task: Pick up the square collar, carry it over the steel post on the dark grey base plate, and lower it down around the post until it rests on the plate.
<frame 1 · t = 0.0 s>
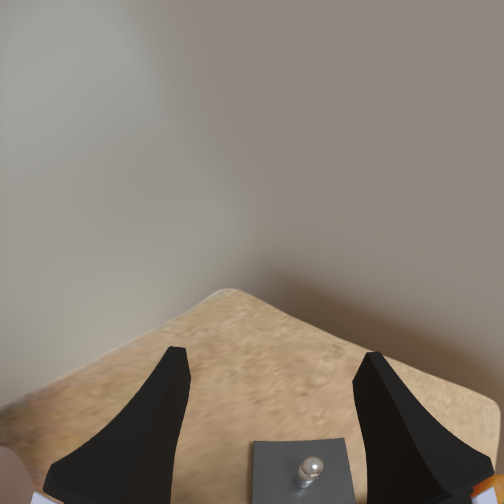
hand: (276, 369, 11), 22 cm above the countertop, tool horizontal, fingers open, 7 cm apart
post base: (300, 483, 21), on the countertop
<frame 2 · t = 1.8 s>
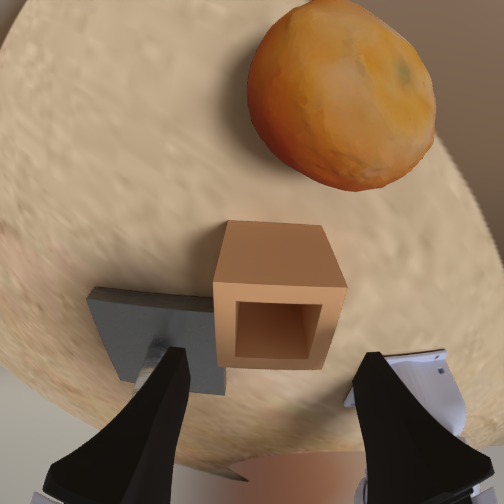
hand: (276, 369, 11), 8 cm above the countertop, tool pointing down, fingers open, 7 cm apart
collar: (272, 263, 18), on the countertop
post base: (164, 341, 22), on the countertop
fruit: (326, 94, 13), on the countertop
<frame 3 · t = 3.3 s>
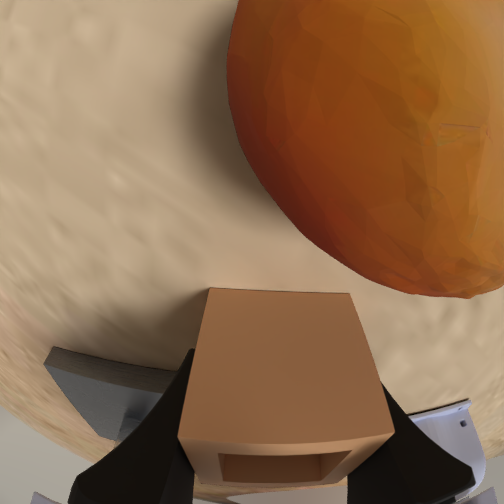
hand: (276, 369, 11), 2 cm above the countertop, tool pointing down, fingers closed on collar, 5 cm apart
collar: (275, 340, 12), on the countertop, touching gripper
post base: (142, 407, 16), on the countertop
fruit: (369, 89, 7), on the countertop
when the fingers open (4 cm above the countertop, at t = 8.1 s): collar stays where it is, resting on post base.
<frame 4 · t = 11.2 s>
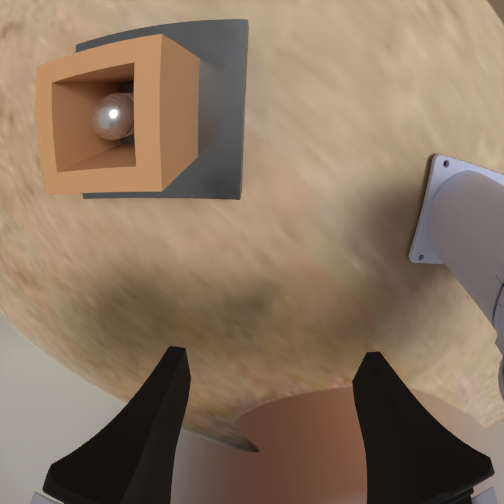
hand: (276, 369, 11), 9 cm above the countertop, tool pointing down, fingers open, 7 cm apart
collar: (149, 110, 13), point 1 cm above the countertop, touching post base
post base: (158, 109, 14), on the countertop
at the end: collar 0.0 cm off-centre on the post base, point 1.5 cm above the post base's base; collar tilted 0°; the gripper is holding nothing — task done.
